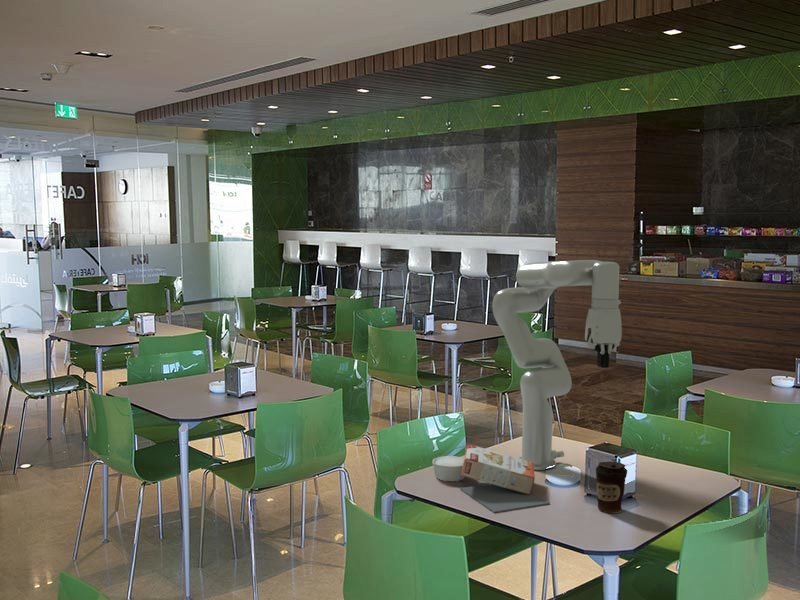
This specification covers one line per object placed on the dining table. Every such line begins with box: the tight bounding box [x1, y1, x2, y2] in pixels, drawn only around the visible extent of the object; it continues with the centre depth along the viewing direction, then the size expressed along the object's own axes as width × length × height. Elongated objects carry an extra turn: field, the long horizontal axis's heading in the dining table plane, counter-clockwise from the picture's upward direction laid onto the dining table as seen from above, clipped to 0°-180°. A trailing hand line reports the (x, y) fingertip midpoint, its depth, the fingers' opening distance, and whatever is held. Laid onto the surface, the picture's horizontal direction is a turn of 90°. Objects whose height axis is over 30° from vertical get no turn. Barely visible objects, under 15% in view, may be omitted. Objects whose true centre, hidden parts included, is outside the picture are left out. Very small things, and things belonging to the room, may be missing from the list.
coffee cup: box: [595, 461, 628, 514], centre depth 216 cm, size 9×8×13 cm
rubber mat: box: [459, 483, 551, 514], centre depth 227 cm, size 18×20×1 cm
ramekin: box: [431, 455, 467, 483], centre depth 243 cm, size 11×11×5 cm
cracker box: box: [461, 443, 536, 495], centre depth 234 cm, size 14×6×21 cm
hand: (603, 366), depth 228 cm, fingers closed
